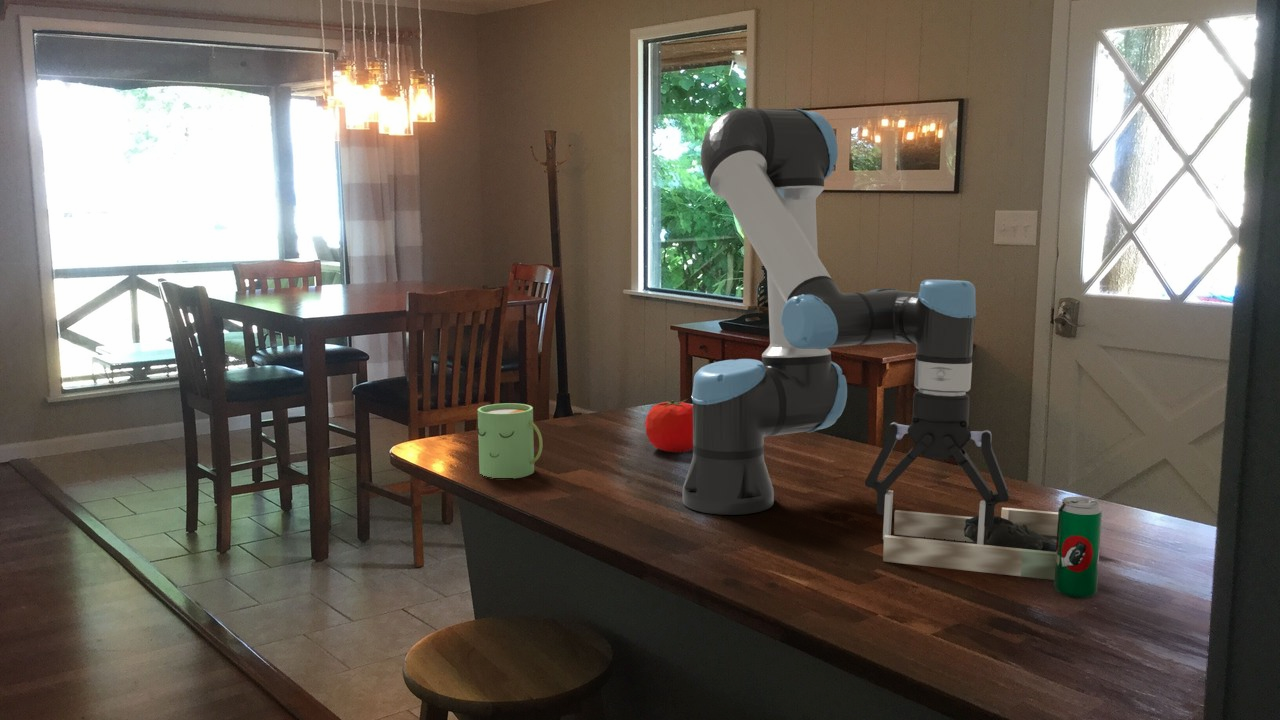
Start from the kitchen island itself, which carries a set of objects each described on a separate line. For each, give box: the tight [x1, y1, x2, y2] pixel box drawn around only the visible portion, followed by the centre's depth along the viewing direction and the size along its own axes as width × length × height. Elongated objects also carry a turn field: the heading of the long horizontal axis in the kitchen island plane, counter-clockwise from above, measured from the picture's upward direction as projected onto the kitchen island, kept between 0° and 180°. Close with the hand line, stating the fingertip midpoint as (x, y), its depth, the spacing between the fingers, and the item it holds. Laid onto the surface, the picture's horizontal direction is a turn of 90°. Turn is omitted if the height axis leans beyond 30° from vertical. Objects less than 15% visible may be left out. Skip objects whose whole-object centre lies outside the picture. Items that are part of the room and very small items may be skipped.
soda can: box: [1053, 496, 1103, 599], centre depth 133 cm, size 5×5×12 cm
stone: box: [964, 514, 1056, 552], centre depth 148 cm, size 7×13×5 cm, turn 78°
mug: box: [477, 402, 544, 479], centre depth 194 cm, size 13×10×12 cm
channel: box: [882, 507, 1058, 581], centre depth 150 cm, size 27×20×4 cm
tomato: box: [644, 398, 693, 453], centre depth 210 cm, size 12×12×10 cm
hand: (932, 543), depth 148 cm, fingers open, 12 cm apart
